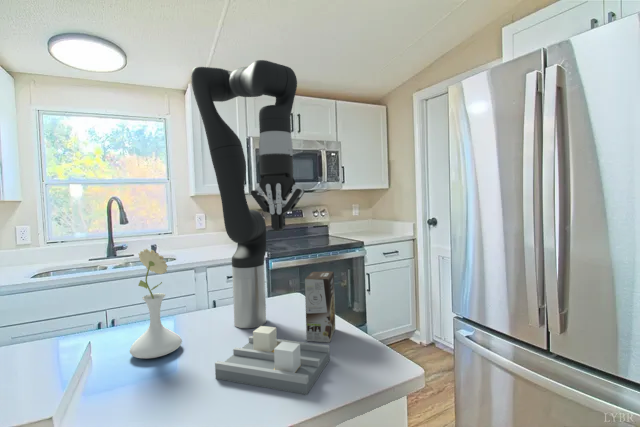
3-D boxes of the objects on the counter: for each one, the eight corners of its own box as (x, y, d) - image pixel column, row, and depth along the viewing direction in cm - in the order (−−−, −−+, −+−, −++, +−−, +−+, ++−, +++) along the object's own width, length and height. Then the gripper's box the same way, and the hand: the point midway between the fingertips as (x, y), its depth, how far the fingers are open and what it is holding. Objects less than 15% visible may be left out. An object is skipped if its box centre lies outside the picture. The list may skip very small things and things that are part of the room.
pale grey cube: (274, 370, 66) (274, 349, 66) (282, 362, 69) (282, 341, 69) (293, 373, 65) (292, 351, 65) (300, 365, 68) (299, 343, 68)
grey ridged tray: (215, 378, 68) (214, 363, 68) (251, 348, 82) (250, 335, 82) (306, 394, 62) (306, 377, 62) (329, 359, 75) (329, 345, 75)
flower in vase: (190, 350, 82) (185, 248, 80) (140, 369, 73) (134, 255, 72) (167, 336, 90) (163, 244, 89) (120, 351, 82) (115, 250, 81)
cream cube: (253, 351, 75) (252, 331, 75) (261, 344, 78) (260, 325, 78) (269, 353, 74) (268, 333, 74) (276, 346, 77) (276, 327, 77)
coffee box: (330, 343, 84) (329, 279, 83) (305, 341, 85) (303, 278, 84) (336, 328, 93) (334, 270, 92) (313, 327, 94) (311, 270, 93)
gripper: (241, 154, 74) (244, 232, 75) (296, 150, 70) (299, 232, 71) (258, 157, 81) (261, 229, 82) (309, 154, 77) (311, 229, 78)
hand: (278, 230), depth 76 cm, fingers closed
